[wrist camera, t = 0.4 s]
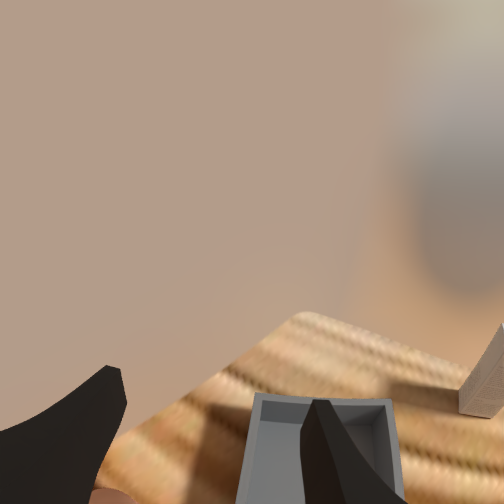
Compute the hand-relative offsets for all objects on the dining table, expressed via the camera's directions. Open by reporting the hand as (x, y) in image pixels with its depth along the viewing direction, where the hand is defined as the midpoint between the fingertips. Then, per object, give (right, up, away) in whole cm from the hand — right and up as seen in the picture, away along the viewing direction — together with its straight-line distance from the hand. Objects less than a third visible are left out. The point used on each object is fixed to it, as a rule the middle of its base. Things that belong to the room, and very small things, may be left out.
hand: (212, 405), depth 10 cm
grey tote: (+7, -17, +11) cm, 21 cm away
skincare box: (+30, -14, +17) cm, 38 cm away
